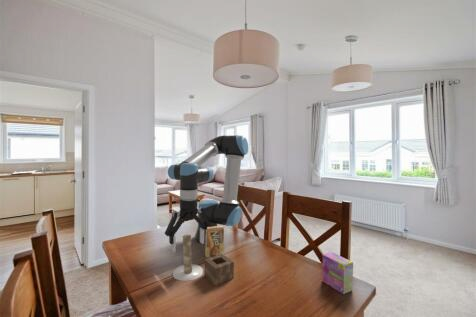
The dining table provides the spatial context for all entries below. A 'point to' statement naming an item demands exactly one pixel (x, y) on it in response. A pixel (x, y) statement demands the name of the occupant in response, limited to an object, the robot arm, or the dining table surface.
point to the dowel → (187, 254)
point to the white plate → (181, 276)
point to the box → (337, 272)
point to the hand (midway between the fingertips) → (188, 246)
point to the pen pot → (219, 269)
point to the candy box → (214, 241)
